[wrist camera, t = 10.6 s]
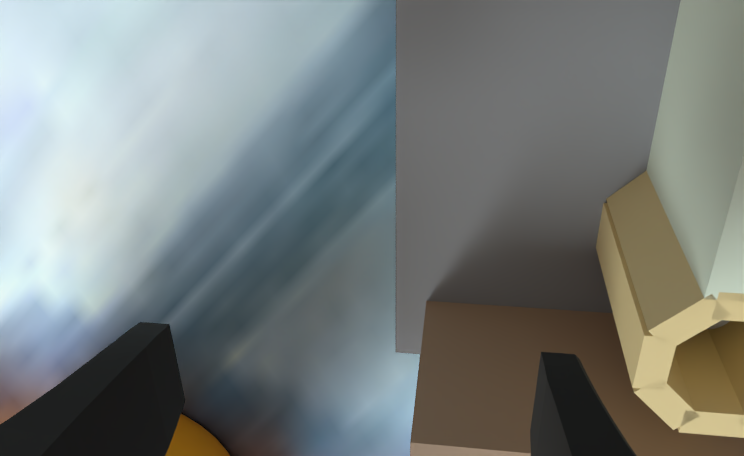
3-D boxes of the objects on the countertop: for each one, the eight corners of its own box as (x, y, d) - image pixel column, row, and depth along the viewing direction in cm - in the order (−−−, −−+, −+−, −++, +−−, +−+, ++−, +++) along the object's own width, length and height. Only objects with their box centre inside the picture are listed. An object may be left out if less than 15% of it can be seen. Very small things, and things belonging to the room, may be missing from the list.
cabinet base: (886, 369, 23) (1028, 564, 17) (398, 333, 25) (372, 498, 19) (1276, -466, 13) (1963, -703, 7) (401, -415, 15) (347, -566, 9)
